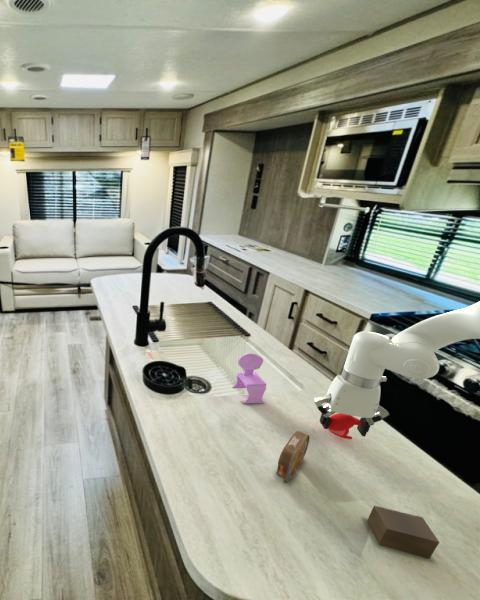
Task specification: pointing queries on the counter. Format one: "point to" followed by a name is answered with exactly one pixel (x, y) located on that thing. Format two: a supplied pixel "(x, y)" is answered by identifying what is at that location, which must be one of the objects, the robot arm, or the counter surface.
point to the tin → (292, 455)
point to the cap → (342, 424)
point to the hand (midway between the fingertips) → (342, 428)
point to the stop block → (402, 532)
